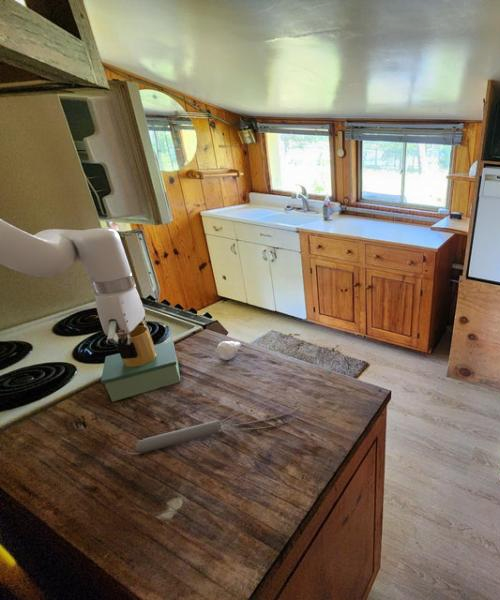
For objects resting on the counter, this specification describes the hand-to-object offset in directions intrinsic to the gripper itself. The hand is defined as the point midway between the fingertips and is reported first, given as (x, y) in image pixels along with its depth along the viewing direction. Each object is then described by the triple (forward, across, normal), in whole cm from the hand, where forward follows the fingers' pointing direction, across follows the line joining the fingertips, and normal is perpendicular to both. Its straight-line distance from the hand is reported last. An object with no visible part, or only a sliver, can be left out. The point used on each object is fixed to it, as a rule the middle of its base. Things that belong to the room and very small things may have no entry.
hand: (137, 348), depth 82 cm
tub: (+10, 0, 0) cm, 10 cm away
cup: (+3, 0, 0) cm, 3 cm away
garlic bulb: (+10, -8, +19) cm, 23 cm away
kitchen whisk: (+10, +24, +23) cm, 35 cm away
